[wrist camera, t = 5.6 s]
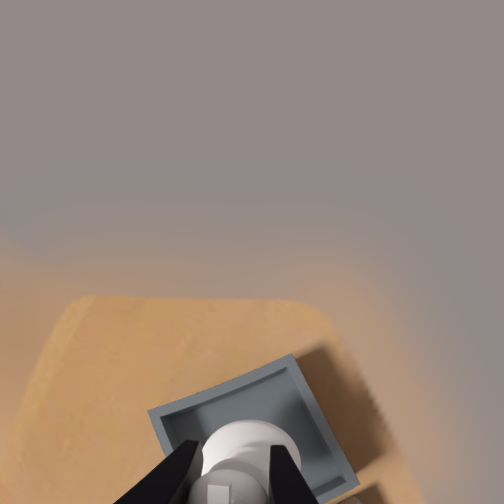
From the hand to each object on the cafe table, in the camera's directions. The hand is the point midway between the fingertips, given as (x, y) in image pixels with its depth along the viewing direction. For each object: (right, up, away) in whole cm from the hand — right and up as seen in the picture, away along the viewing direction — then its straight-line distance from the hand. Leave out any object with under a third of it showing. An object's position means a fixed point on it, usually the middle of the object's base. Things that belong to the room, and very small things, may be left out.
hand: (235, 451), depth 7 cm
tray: (+1, -7, +9) cm, 11 cm away
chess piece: (0, -5, +5) cm, 7 cm away
